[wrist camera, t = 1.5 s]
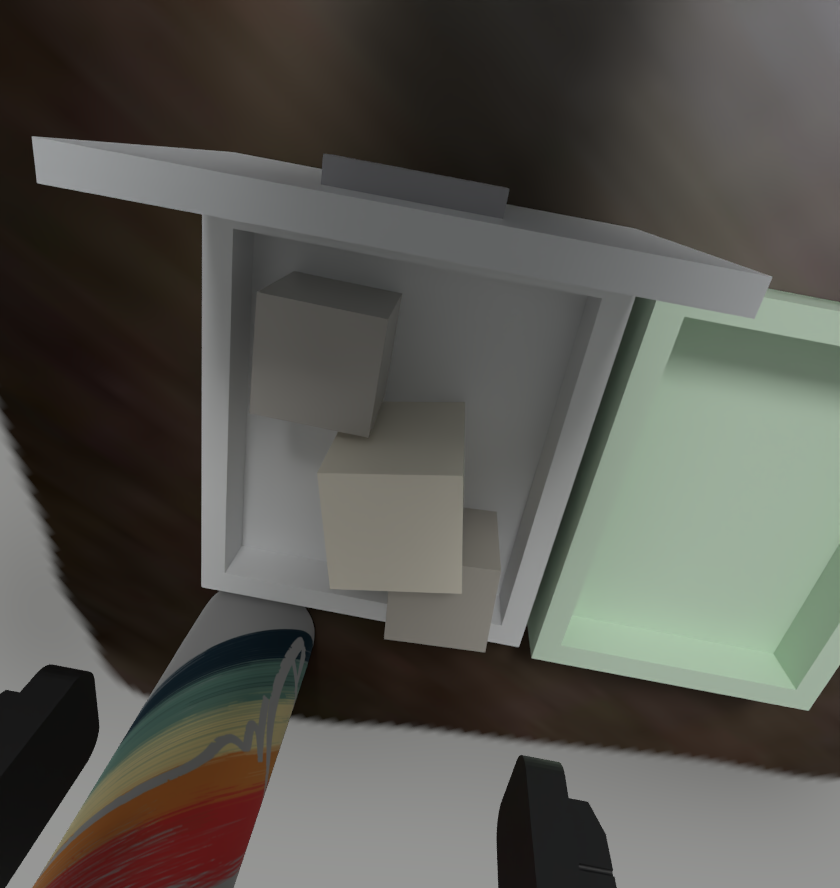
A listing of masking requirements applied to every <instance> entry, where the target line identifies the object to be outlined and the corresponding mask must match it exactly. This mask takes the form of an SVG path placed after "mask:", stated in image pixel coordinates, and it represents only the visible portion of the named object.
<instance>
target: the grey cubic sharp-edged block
mask: <svg viewBox="0 0 840 888" xmlns="http://www.w3.org/2000/svg"><path fill="white" fill-rule="evenodd" d="M401 300H402V293H398V292H393V291H388V290H383V289H378V288H373V287H369V286H364V285H359V284H354V283H349V282H345V281H340V280H335V279H330V278H325V277H320V276H316V275H311V274H306V273H301V272H296V271H293V272H291V273H290V274H288V275H286V276H284V277H282V278H281V279H279V280H277V281H275V282H274V283H272V284H270V285H268V286H266V287H265V288H263V289H261V290H259V291H258V292H257V294H256V311H255V327H254V344H253V360H252V377H251V393H250V410H249V413H250V414H255V415H260V416H265V417H270V418H275V419H279V420H284V421H289V422H294V423H299V424H304V425H309V426H313V427H318V428H323V429H328V430H333V431H338V432H343V433H348V434H352V435H357V436H362V437H367V438H369V435H370V433H371V430H372V428H373V425H374V422H375V420H376V417H377V415H378V412H379V410H380V407H381V404H382V402H383V399H384V397H385V393H386V387H387V381H388V375H389V369H390V364H391V358H392V352H393V346H394V340H395V334H396V329H397V323H398V317H399V311H400V305H401Z"/></svg>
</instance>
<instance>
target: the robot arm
mask: <svg viewBox="0 0 840 888" xmlns="http://www.w3.org/2000/svg"><path fill="white" fill-rule="evenodd" d="M98 733H99V719H98V709H97V699H96V690H95V680H94V676H93V674H92V673H91V672H88V671H83V670H77V669H72V668H67V667H62V666H57V665H47V666H45V667H43V668H42V669H41V670H40V671H39V672H38V673H37V674H36V675H35V676H34V677H33V678H32V679H31V681H30V682H29V683H28V684H27V685H26V686H25V687H24V688H23V690H22V691H21V692H20V693H19V692H14V691H9V690H5V691H4V692H2V693H1V694H0V888H5V887H6V886H7V884H8V883H9V881H10V879H11V878H12V876H13V875H14V873H15V872H16V870H17V869H18V867H19V866H20V864H21V863H22V861H23V859H24V858H25V857H26V855H27V853H28V852H29V850H30V849H31V847H32V846H33V844H34V843H35V841H36V840H37V838H38V836H39V835H40V834H41V832H42V831H43V829H44V827H45V826H46V824H47V823H48V821H49V820H50V818H51V817H52V815H53V814H54V812H55V811H56V809H57V808H58V806H59V804H60V803H61V802H62V800H63V798H64V797H65V795H66V794H67V792H68V791H69V789H70V787H71V786H72V785H73V783H74V781H75V780H76V779H77V777H78V775H79V774H80V772H81V771H82V769H83V768H84V766H85V765H86V763H87V762H88V760H89V758H90V756H91V754H92V752H93V749H94V747H95V744H96V741H97V737H98ZM497 861H498V862H497V863H498V888H617V887H616V883H615V878H614V877H613V874H612V871H613V868H612V863H611V858H610V854H609V848H608V844H607V839H606V834H605V832H604V830H603V829H602V827H601V825H600V823H599V821H598V819H597V818H596V816H595V814H594V812H593V810H592V808H591V807H590V805H589V803H588V802H585V801H580V800H575V799H570V798H568V792H567V786H566V780H565V774H564V770H563V767H562V765H561V763H559V762H555V761H550V760H544V759H539V758H534V757H528V756H523V755H520V756H519V757H518V759H517V761H516V764H515V767H514V769H513V772H512V775H511V778H510V780H509V783H508V786H507V789H506V791H505V794H504V796H503V799H502V802H501V806H500V810H499V815H498V823H497Z"/></svg>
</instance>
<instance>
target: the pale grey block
mask: <svg viewBox="0 0 840 888" xmlns="http://www.w3.org/2000/svg"><path fill="white" fill-rule="evenodd" d="M500 574H501V563H500V550H499V536H498V522H497V512H495V511H487V510H479V509H471V508H464V522H463V565H462V594H452V593H424V592H396V591H388V601H387V612H386V623H385V634H384V639H388V640H395V641H403V642H410V643H418V644H425V645H433V646H440V647H448V648H455V649H463V650H470V651H478V652H485V650H486V645H487V640H488V635H489V630H490V625H491V620H492V615H493V610H494V604H495V599H496V594H497V589H498V584H499V579H500Z"/></svg>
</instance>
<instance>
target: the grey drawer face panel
mask: <svg viewBox="0 0 840 888" xmlns="http://www.w3.org/2000/svg"><path fill="white" fill-rule="evenodd" d="M32 142H33V151H34V160H35V169H36V177H37V183H40V184H45V185H50V186H55V187H61V188H66V189H71V190H77V191H82V192H87V193H92V194H98V195H103V196H108V197H113V198H119V199H124V200H129V201H135V202H140V203H145V204H150V205H156V206H161V207H166V208H172V209H177V210H182V211H187V212H193V213H198V214H203V215H208V216H214V217H219V218H224V219H230V220H235V221H240V222H245V223H251V224H256V225H261V226H266V227H272V228H277V229H282V230H288V231H293V232H298V233H303V234H309V235H314V236H319V237H324V238H330V239H335V240H340V241H346V242H351V243H356V244H361V245H367V246H372V247H377V248H383V249H388V250H393V251H398V252H404V253H409V254H414V255H419V256H425V257H430V258H435V259H441V260H446V261H451V262H456V263H462V264H467V265H472V266H477V267H483V268H488V269H493V270H499V271H504V272H509V273H514V274H520V275H525V276H530V277H535V278H541V279H546V280H551V281H557V282H562V283H567V284H572V285H578V286H583V287H588V288H593V289H599V290H604V291H609V292H615V293H620V294H625V295H630V296H636V297H641V298H646V299H652V300H657V301H662V302H667V303H673V304H678V305H683V306H688V307H694V308H699V309H704V310H710V311H715V312H720V313H725V314H731V315H736V316H741V317H746V318H752V319H755V317H756V314H757V312H758V310H759V307H760V305H761V303H762V300H763V298H764V296H765V293H766V291H767V289H768V286H769V284H770V282H771V279H772V276H769V275H766V274H763V273H760V272H757V271H755V270H752V269H749V268H746V267H743V266H740V265H738V264H735V263H732V262H729V261H726V260H723V259H720V258H718V257H715V256H712V255H709V254H706V253H703V252H701V251H698V250H695V249H692V248H689V247H686V246H683V245H681V244H678V243H675V242H672V241H669V240H666V239H664V238H661V237H658V236H655V235H652V234H649V233H646V232H644V231H641V230H638V229H635V228H630V227H625V226H620V225H614V224H609V223H604V222H598V221H593V220H588V219H583V218H577V217H572V216H567V215H562V214H556V213H551V212H546V211H540V210H535V209H530V208H525V207H519V206H514V205H509V204H506V203H507V199H508V194H509V188H506V187H501V186H496V185H491V184H485V183H480V182H475V181H470V180H464V179H459V178H454V177H448V176H443V175H438V174H433V173H427V172H422V171H417V170H412V169H406V168H401V167H396V166H390V165H385V164H380V163H375V162H369V161H364V160H359V159H354V158H348V157H343V156H338V155H331V154H323V163H322V169H319V168H314V167H308V166H303V165H298V164H293V163H287V162H282V161H277V160H271V159H266V158H261V157H256V156H250V155H245V154H240V153H235V152H224V151H211V150H198V149H186V148H173V147H160V146H148V145H135V144H122V143H110V142H97V141H84V140H71V139H59V138H46V137H33V136H32Z"/></svg>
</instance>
